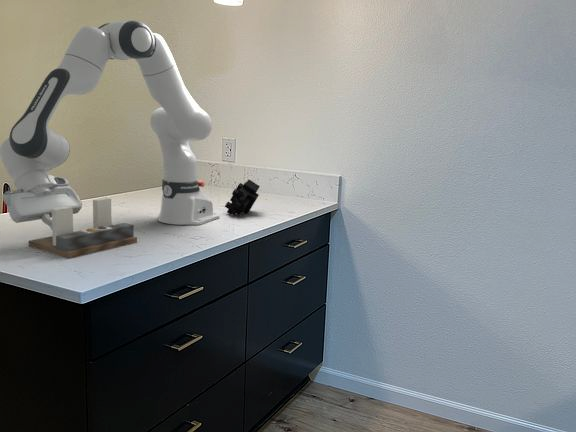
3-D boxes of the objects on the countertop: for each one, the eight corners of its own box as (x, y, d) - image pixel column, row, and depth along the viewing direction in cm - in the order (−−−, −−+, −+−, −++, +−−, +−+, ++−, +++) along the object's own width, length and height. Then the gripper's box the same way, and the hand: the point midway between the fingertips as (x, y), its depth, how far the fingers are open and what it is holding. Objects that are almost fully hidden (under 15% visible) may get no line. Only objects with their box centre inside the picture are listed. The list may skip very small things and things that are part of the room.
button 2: (106, 230, 174) (105, 197, 172) (111, 231, 173) (111, 198, 171) (92, 232, 170) (91, 199, 168) (97, 234, 168) (97, 200, 166)
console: (97, 232, 178) (96, 214, 177) (137, 242, 168) (137, 224, 167) (28, 245, 159) (27, 226, 158) (69, 258, 150) (68, 237, 148)
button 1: (68, 241, 159) (67, 206, 157) (73, 243, 157) (72, 207, 155) (51, 244, 155) (50, 208, 153) (57, 246, 153) (56, 209, 151)
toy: (219, 214, 211) (234, 195, 224) (238, 226, 212) (252, 206, 224) (231, 191, 205) (246, 173, 217) (251, 204, 205) (265, 185, 217)
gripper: (4, 185, 149) (27, 228, 146) (71, 178, 166) (94, 216, 163) (-5, 199, 153) (18, 241, 149) (62, 191, 169) (84, 229, 166)
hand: (58, 228), depth 156 cm, fingers closed, pressing on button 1
